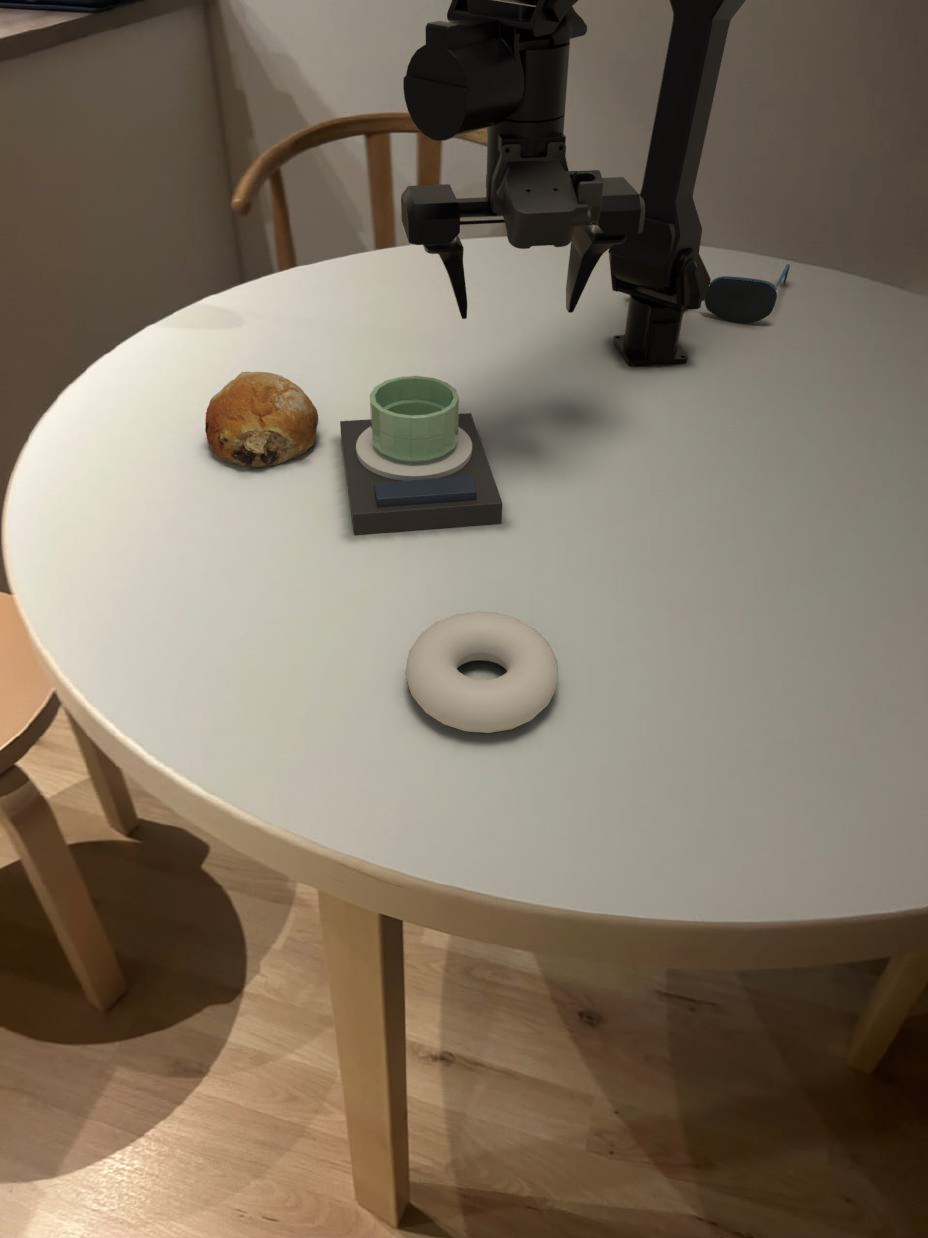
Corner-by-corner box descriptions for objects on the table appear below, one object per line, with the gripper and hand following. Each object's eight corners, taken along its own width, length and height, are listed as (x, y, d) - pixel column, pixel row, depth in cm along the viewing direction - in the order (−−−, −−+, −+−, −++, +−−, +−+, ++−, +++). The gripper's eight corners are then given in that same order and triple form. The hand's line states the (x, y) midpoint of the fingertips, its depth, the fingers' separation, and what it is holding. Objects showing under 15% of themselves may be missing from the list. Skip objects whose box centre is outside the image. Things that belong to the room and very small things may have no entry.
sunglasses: (620, 302, 113) (627, 258, 110) (648, 276, 125) (655, 236, 122) (768, 328, 108) (779, 283, 106) (783, 299, 120) (793, 257, 117)
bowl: (368, 425, 85) (366, 378, 82) (450, 420, 86) (450, 373, 83) (376, 468, 79) (374, 420, 76) (463, 462, 80) (464, 414, 77)
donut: (543, 636, 68) (402, 640, 67) (548, 598, 66) (402, 602, 65) (567, 742, 60) (408, 747, 59) (573, 703, 58) (408, 708, 57)
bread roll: (332, 471, 90) (346, 386, 88) (271, 479, 81) (285, 383, 78) (244, 447, 93) (255, 363, 91) (176, 451, 84) (186, 359, 81)
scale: (341, 440, 88) (339, 412, 86) (470, 431, 89) (471, 404, 87) (353, 535, 76) (352, 505, 75) (501, 523, 78) (503, 494, 76)
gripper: (415, 147, 64) (419, 364, 74) (682, 138, 66) (651, 349, 77) (397, 105, 72) (403, 305, 83) (635, 98, 75) (612, 293, 85)
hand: (516, 313), depth 82 cm, fingers open, 9 cm apart
